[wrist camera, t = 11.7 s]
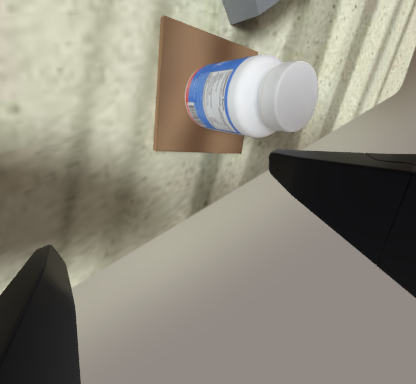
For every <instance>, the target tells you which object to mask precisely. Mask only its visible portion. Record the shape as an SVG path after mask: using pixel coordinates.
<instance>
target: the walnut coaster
mask: <svg viewBox="0 0 416 384" xmlns="http://www.w3.org/2000/svg"><path fill="white" fill-rule="evenodd" d="M256 55H258V52H257V51H254V50H252V49H249V48H246V47H244V46H241V45H239V44H236V43H234V42H231V41H228V40H226V39H223V38H221V37H218V36H216V35H213V34H210V33H208V32H205V31H203V30H200V29H198V28H195V27H192V26H190V25H187V24H185V23H182V22H180V21H177V20H175V19H172V18H169V17H167V16H163V17H161V27H160V44H159V61H158V78H157V95H156V112H155V129H154V146H153V150H155V151H177V152H210V153H241V150H242V144H243V138H244V135H239V134H234V133H228V132H223V131H217V130H211V129H206V128H203V127H201V126H199V125H197V124H196V123H195V122H194V121H193V120H192V119H191V117H190V116H189V114H188V111H187V109H186V105H185V90H186V86H187V83H188V81H189V79H190V77H191V75H192V74H193V73H194V72H195V71H196V70H197V69H199V68H200V67H203V66H205V65H209V64H214V63H219V62H225V61H230V60H235V59H241V58H245V57H250V56H256Z"/></svg>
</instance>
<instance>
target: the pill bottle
mask: <svg viewBox="0 0 416 384" xmlns="http://www.w3.org/2000/svg"><path fill="white" fill-rule="evenodd" d="M317 98H318V80H317V76H316V73H315V71H314V69H313V67H312V66H311V65H310V64H308V63H307V62H304V61H295V62H282V61H281V60H280V59H278V58H277V57H275V56H272V55H267V54H263V55H256V56H250V57H245V58H241V59H235V60H230V61H225V62H219V63H214V64H209V65H205V66H203V67H200V68H199V69H197V70H196V71H195V72H194V73H193V74H192V75H191V77H190V79H189V81H188V83H187V86H186V90H185V105H186V109H187V111H188V114H189V116H190V117H191V119H192V120H193V121H194V122H195V123H196V124H197V125H199V126H201V127H203V128H206V129H211V130H217V131H223V132H228V133H234V134H239V135H244V136H249V137H255V138H261V137H266V136H269V135H271V134H273V133H274V132H275V131H284V132H295V131H298V130H300V129H302V128H303V127H304V126H305V125H306V124H307V123H308V121H309V120H310V118H311V116H312V114H313V112H314V110H315V107H316V103H317Z"/></svg>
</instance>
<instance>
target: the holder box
mask: <svg viewBox="0 0 416 384" xmlns="http://www.w3.org/2000/svg"><path fill="white" fill-rule="evenodd" d="M278 1H280V0H223V3H224V6H225V9H226V12H227V15H228V18H229V21H230V24H231V25H232V24H235V23H238V22H241V21H244V20H247V19H250V18H253V17H256V16H259V15H260V14H262V13H263V12H264V11H266V10H267V9H269V8H270V7H271V6H273V5H274V4H275V3H277V2H278Z"/></svg>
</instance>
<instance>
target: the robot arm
mask: <svg viewBox="0 0 416 384" xmlns="http://www.w3.org/2000/svg"><path fill="white" fill-rule="evenodd" d="M269 171H270V173H271V174H272V175H273V177H274V178H275V179H277V180H278V182H279V183H280V184H281V185H282V186H283V187H284V188H285V189H286V190H287V191H288V192H289V193H290V194H291V195H292V196H294V197H295V198H296V199H297V200H298V201H299V202H301V203H302V204H303V205H304V206H305V207H307V208H308V209H309V210H310V211H311V212H313V213H314V214H315V215H316V216H317V217H319V218H320V219H321V220H322V221H324V222H325V223H326V224H327V225H328V226H330V227H331V228H332V229H333V230H334V231H336V232H337V233H338V234H339V235H341V236H342V237H343V238H344V239H345V240H347V241H348V242H349V243H350V244H351V245H352V246H354V247H355V248H356V249H357V250H359V251H360V252H361V253H362V254H363V255H365V256H366V257H367V258H368V259H369V260H371V261H372V262H373V263H374V264H377V266H378V267H379V268H380V269H381V270H382V271H384V272H385V273H386V274H387V275H389V276H390V277H391V278H392V279H393V280H395V281H396V282H397V283H398V284H399V285H401V286H402V287H403V288H404V289H405V290H407V291H408V292H409V293H410V294H411V295H413V296H414V297H415V298H416V154H377V153H376V154H375V153H365V154H364V153H351V152H326V151H325V152H324V151H300V150H276V151H273V152H271V153H270V155H269ZM0 384H81V381H80V367H79V353H78V339H77V325H76V313H75V304H74V299H73V294H72V290H71V285H70V281H69V276H68V271H67V267H66V264H65V262H64V260H63V259H62V258H61V256H60V255H59V254H58V252H57V251H56V250H55V248H54V247H53V246H52V245H47V246H44V247H42V248H39V249H37V250H36V251H35V252H34V253H33V254H32V256H31V257H30V258H29V260H28V261H27V262H26V263H25V265H24V266H23V267H22V268H21V270H20V271H19V272H18V274H17V275H16V276H15V277H14V279H13V280H12V281H11V282H10V284H9V285H8V286H7V288H6V289H5V290H4V291H3V293H2V294H1V295H0Z"/></svg>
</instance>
